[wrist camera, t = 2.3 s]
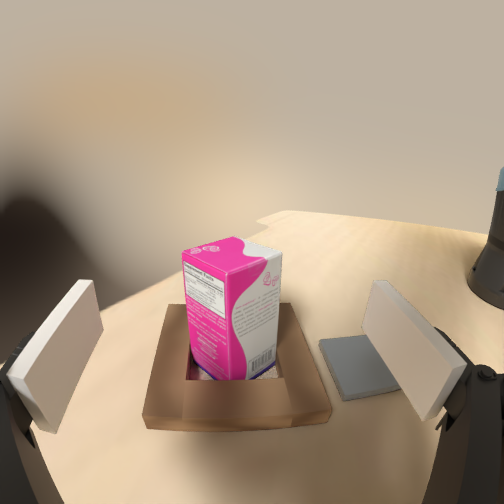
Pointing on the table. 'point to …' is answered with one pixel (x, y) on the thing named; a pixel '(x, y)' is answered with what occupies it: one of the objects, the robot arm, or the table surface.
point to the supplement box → (232, 307)
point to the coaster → (357, 367)
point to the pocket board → (233, 385)
